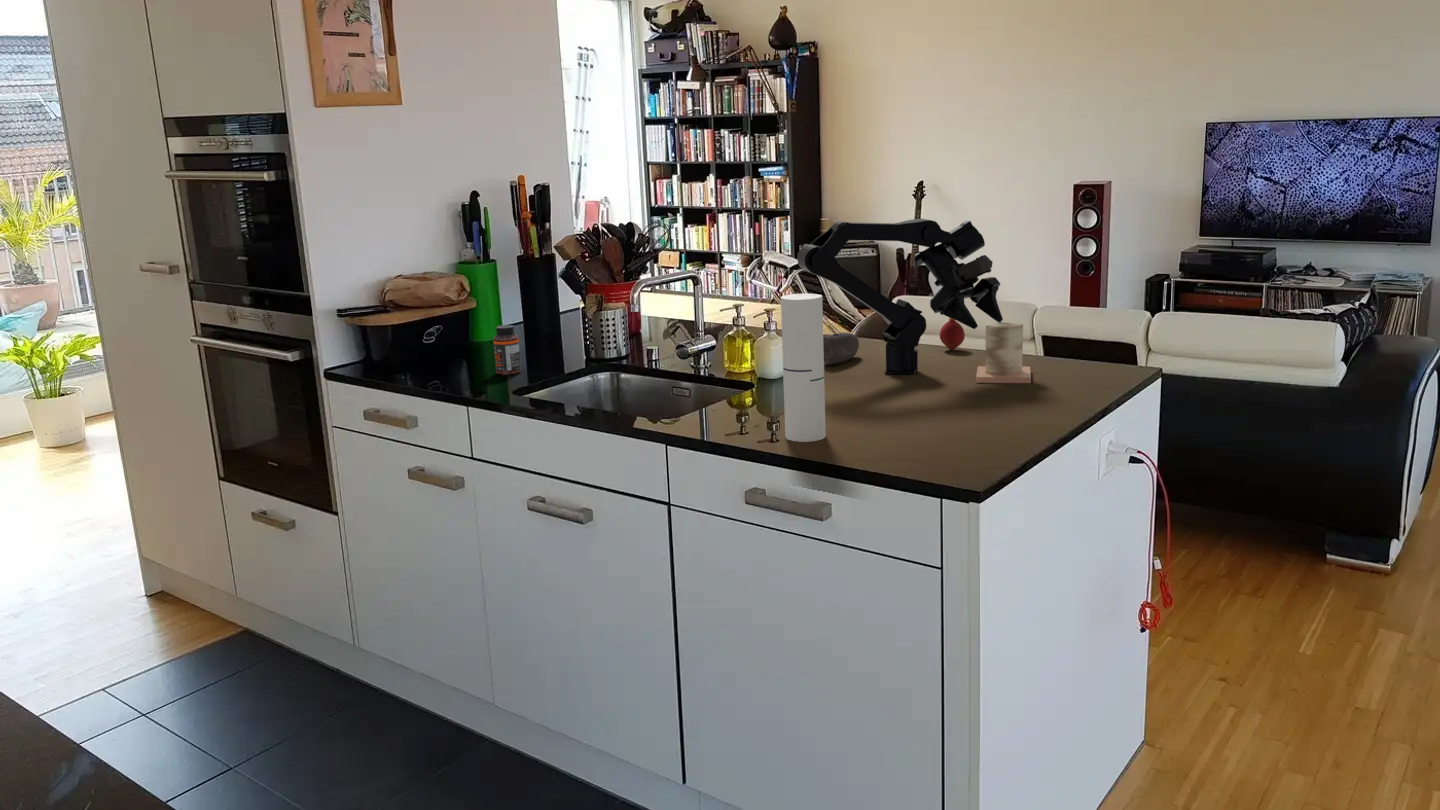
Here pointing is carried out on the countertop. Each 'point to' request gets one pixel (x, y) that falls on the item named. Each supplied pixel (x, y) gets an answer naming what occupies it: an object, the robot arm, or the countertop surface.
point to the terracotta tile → (1003, 376)
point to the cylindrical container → (803, 367)
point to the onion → (952, 334)
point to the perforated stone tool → (839, 347)
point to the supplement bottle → (506, 350)
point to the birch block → (1004, 348)
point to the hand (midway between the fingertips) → (988, 324)
